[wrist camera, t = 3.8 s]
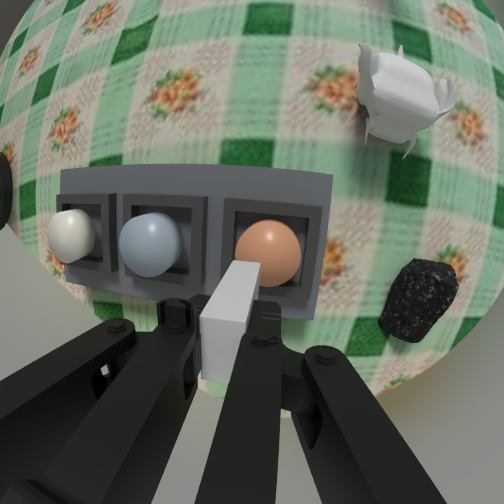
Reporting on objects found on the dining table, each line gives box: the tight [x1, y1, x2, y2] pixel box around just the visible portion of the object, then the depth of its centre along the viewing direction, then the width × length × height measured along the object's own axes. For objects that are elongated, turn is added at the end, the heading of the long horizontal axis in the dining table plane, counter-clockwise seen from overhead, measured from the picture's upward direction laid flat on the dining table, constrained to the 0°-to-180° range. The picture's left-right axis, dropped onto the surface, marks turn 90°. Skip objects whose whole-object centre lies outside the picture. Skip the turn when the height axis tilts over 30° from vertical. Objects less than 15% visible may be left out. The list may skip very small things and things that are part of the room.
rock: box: [378, 258, 459, 343], centre depth 26 cm, size 7×10×6 cm
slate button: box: [119, 212, 184, 277], centre depth 22 cm, size 5×5×2 cm
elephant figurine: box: [355, 44, 458, 159], centre depth 19 cm, size 10×12×9 cm
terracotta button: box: [235, 219, 301, 287], centre depth 23 cm, size 5×5×2 cm
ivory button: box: [48, 209, 95, 263], centre depth 23 cm, size 5×5×2 cm
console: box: [56, 164, 333, 320], centre depth 27 cm, size 30×14×6 cm, turn 86°
